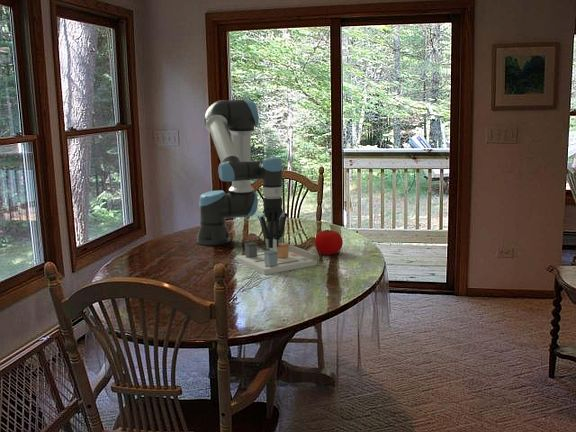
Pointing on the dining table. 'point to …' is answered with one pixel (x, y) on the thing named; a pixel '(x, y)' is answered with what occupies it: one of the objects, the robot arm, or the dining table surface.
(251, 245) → the slider left
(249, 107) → the robot arm
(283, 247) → the slider mid
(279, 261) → the white base board
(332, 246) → the tomato
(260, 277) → the dining table surface
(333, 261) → the dining table surface
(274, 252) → the slider right
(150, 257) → the dining table surface
